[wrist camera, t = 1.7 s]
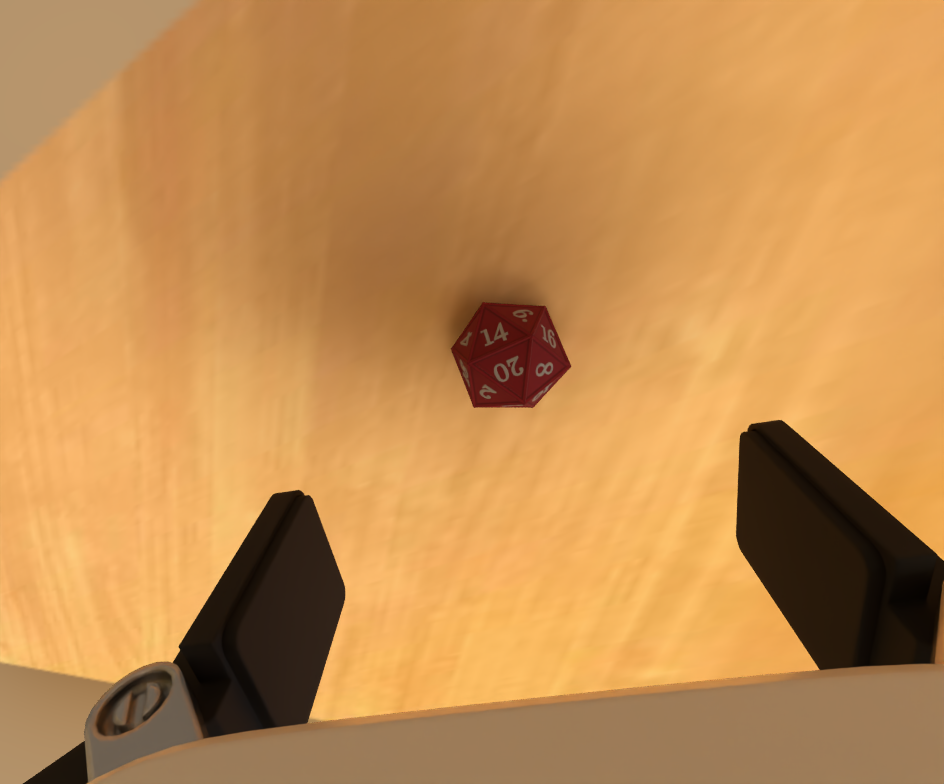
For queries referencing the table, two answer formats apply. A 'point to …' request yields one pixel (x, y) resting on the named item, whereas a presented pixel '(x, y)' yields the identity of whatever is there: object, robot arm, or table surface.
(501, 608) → the table surface
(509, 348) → the dice
